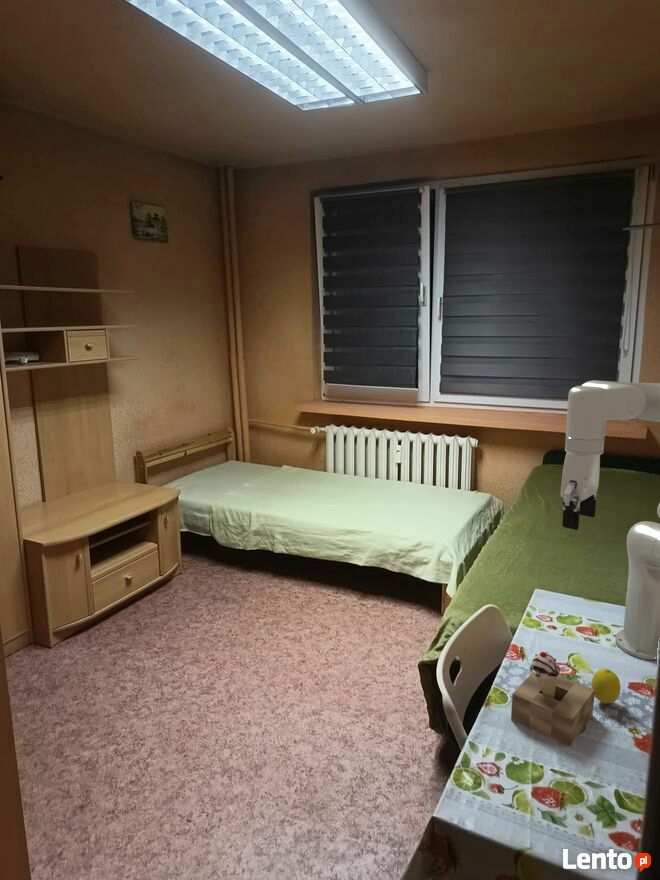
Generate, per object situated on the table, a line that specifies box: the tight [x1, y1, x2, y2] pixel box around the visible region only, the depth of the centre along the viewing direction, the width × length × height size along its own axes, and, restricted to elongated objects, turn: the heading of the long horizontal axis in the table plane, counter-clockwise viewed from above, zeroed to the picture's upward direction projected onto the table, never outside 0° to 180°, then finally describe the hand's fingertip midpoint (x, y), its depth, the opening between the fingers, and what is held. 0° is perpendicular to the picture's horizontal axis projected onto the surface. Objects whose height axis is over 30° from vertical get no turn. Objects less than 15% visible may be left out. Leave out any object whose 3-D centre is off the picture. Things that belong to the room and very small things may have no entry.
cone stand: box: [510, 672, 595, 748], centre depth 122 cm, size 12×12×6 cm
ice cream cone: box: [529, 651, 561, 699], centre depth 121 cm, size 6×6×15 cm
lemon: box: [591, 668, 621, 705], centre depth 126 cm, size 6×6×8 cm
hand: (578, 521), depth 130 cm, fingers open, 9 cm apart
